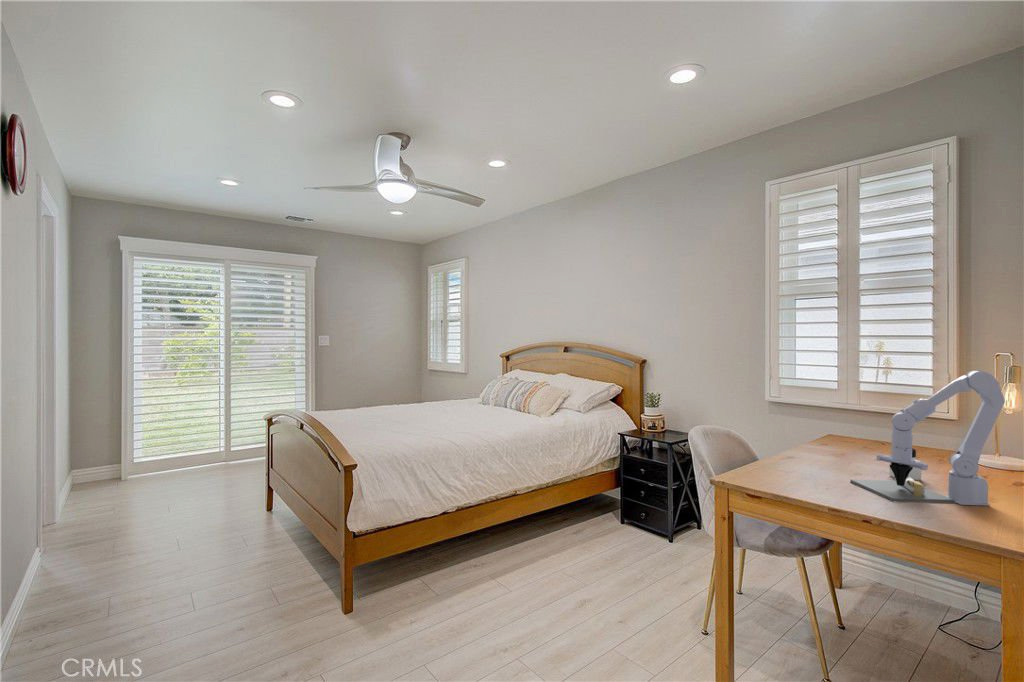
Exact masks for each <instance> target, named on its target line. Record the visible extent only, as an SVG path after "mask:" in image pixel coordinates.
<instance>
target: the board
mask: <svg viewBox="0 0 1024 682" xmlns="http://www.w3.org/2000/svg"><path fill="white" fill-rule="evenodd" d="M849 480H850V483H851V484H853V483H854V485H855V484H856V486H858V487H860V486H861V487H860V488H862V487H863V488H862V489H864V488H865V489H864V490H866V491H869V492H872V493H873V494H875V493H876V495H878V496H880V497H882V498H884V499H887V500H888V501H892V502H899V503H900V502H901V503H902V502H905V503H907V502H908V503H909V502H910V503H911V502H912V503H949V504H950V503H951V504H953V503H955V502H954V499H951V498H948V497H946V496H947V495H943V494H940V493H938V492H935V491H933V490H931V489H927V488H925V494H922V498H921V497H914V496H913V493H912V492H911V491H910V490H909V489H907V488H906V487H905V486H899V485H897V482H896V480H890V479H886V480H885V479H884V480H882V479H881V480H880V479H849Z"/></svg>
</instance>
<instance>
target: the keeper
mask: <svg viewBox="0 0 1024 682" xmlns="http://www.w3.org/2000/svg"><path fill="white" fill-rule="evenodd" d="M907 483H908V484H909V485H910V486H911V487H913V496H914V497H921V498H922V488H924V487H925V486H924V485H923V484H922V483H921V482H920V481H918V480H915V481H908V480H907Z"/></svg>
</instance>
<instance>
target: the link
mask: <svg viewBox="0 0 1024 682" xmlns="http://www.w3.org/2000/svg"><path fill="white" fill-rule="evenodd" d="M907 480H908V481H916V480H913V479H912V478H911V477H910V476H907V478H906V481H905V484H904V486H905V487H906V488H907V489H909V490H910V491H911V492H912V493H913V487H911V486H910V485H909V484H908V483H907ZM925 489H926V488H925V486H924V488H922V494H925Z"/></svg>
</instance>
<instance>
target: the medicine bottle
mask: <svg viewBox="0 0 1024 682" xmlns="http://www.w3.org/2000/svg"><path fill="white" fill-rule="evenodd" d="M912 460H914V461H917V462H921V463H923V462H922V461H921V460H917V449H915V448H914V447H912ZM890 465H891V463H890V462H889V466H890ZM889 476H890V477H892V478H895V476H894V473H893V471H892V470H891V468H890V467H889ZM908 476H910V477H911V478H912V479H913V480H915V481H921V480H922V469H919V468H914V467H913V469H912V470H911V471H910V473H909V474H908Z"/></svg>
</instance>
